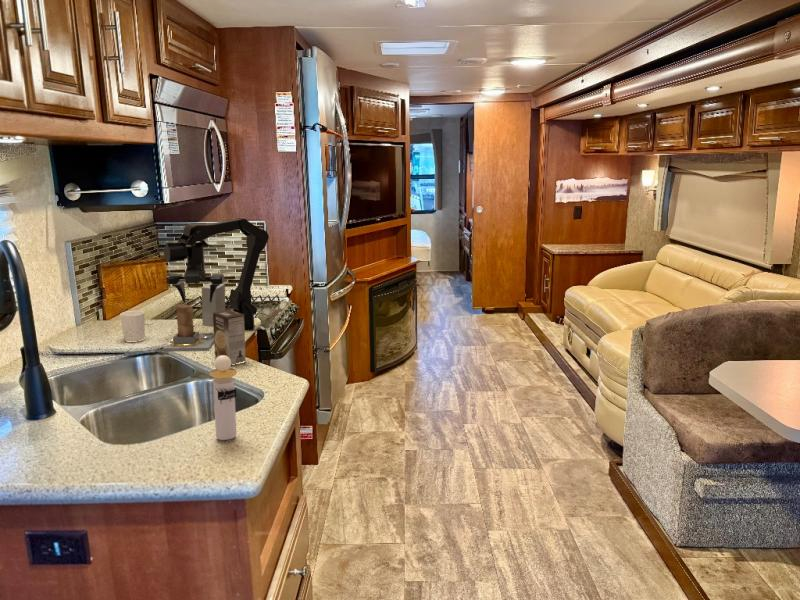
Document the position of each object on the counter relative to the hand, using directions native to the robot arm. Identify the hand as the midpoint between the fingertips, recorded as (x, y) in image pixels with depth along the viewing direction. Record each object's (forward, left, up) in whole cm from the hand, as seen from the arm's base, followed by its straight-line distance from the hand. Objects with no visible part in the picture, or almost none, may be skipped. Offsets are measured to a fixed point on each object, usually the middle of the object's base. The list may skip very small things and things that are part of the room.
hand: (197, 302), depth 214 cm
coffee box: (-16, +29, -13) cm, 36 cm away
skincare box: (-2, -19, -13) cm, 24 cm away
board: (+1, +8, -13) cm, 15 cm away
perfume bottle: (-24, +86, -13) cm, 90 cm away
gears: (+1, +8, -12) cm, 15 cm away
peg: (+2, +11, -11) cm, 16 cm away
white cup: (+22, +3, -13) cm, 26 cm away
